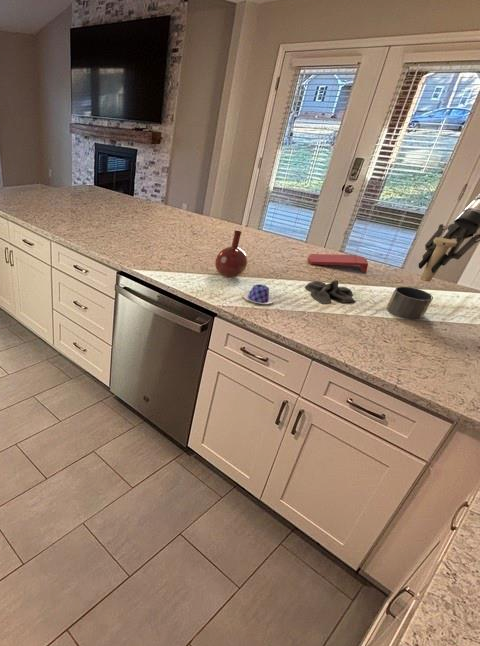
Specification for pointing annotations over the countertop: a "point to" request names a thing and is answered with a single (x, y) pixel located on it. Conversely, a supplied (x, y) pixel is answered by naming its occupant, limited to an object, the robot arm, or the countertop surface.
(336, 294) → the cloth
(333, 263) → the red bent slab
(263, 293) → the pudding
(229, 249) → the round-bottom flask
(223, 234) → the countertop surface
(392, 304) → the canister
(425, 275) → the handle
